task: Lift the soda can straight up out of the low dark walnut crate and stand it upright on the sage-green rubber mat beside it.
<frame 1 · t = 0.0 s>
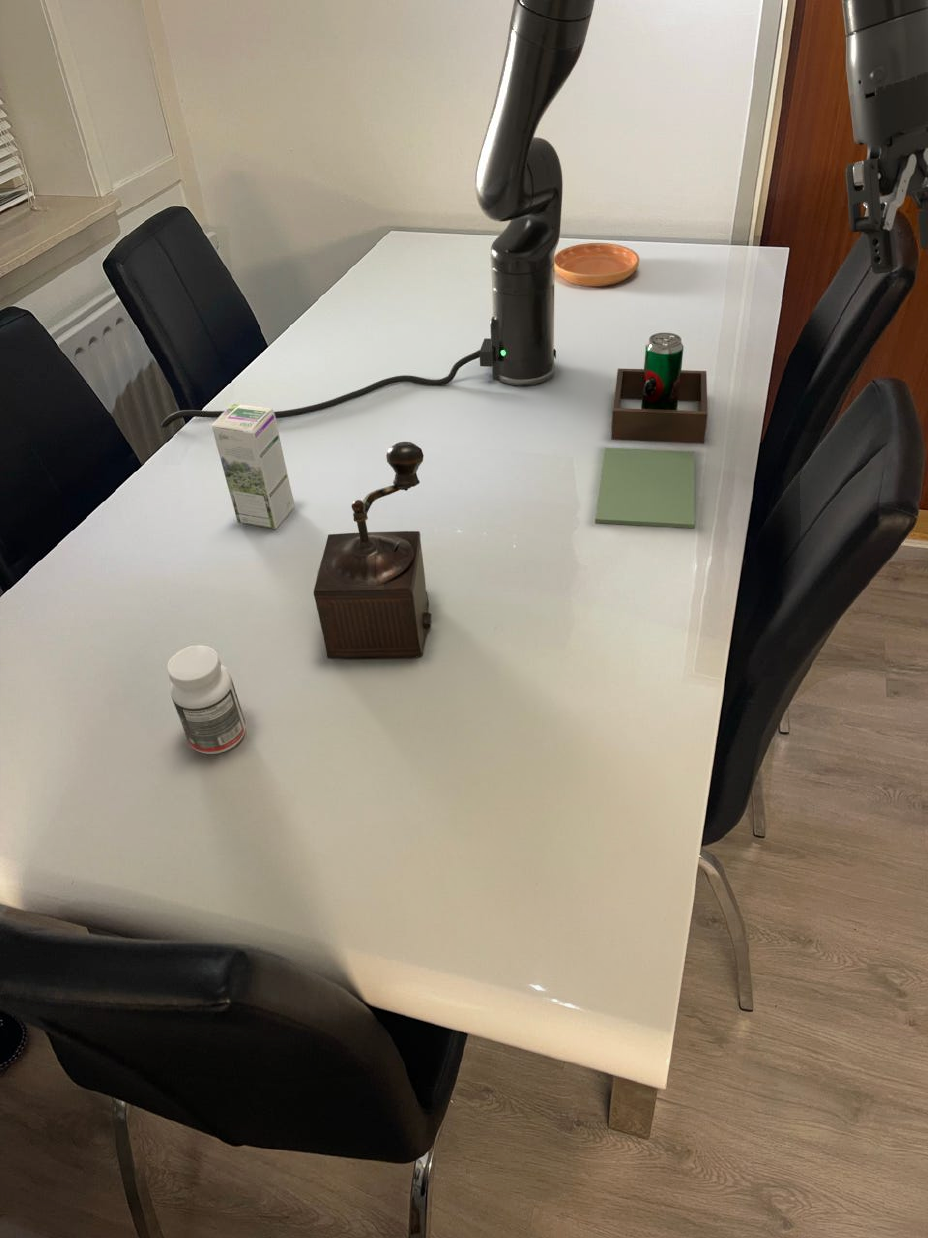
hand: (909, 259, 92), 31 cm above the table, tool tilted 20°, fingers open, 8 cm apart
manual coffee grinder: (384, 613, 105), on the table
mat: (646, 487, 121), on the table
saucer: (595, 274, 176), on the table
syrup box: (266, 516, 121), on the table
pill bottle: (218, 735, 92), on the table
crate: (658, 418, 134), on the table
soda can: (658, 419, 134), resting in crate
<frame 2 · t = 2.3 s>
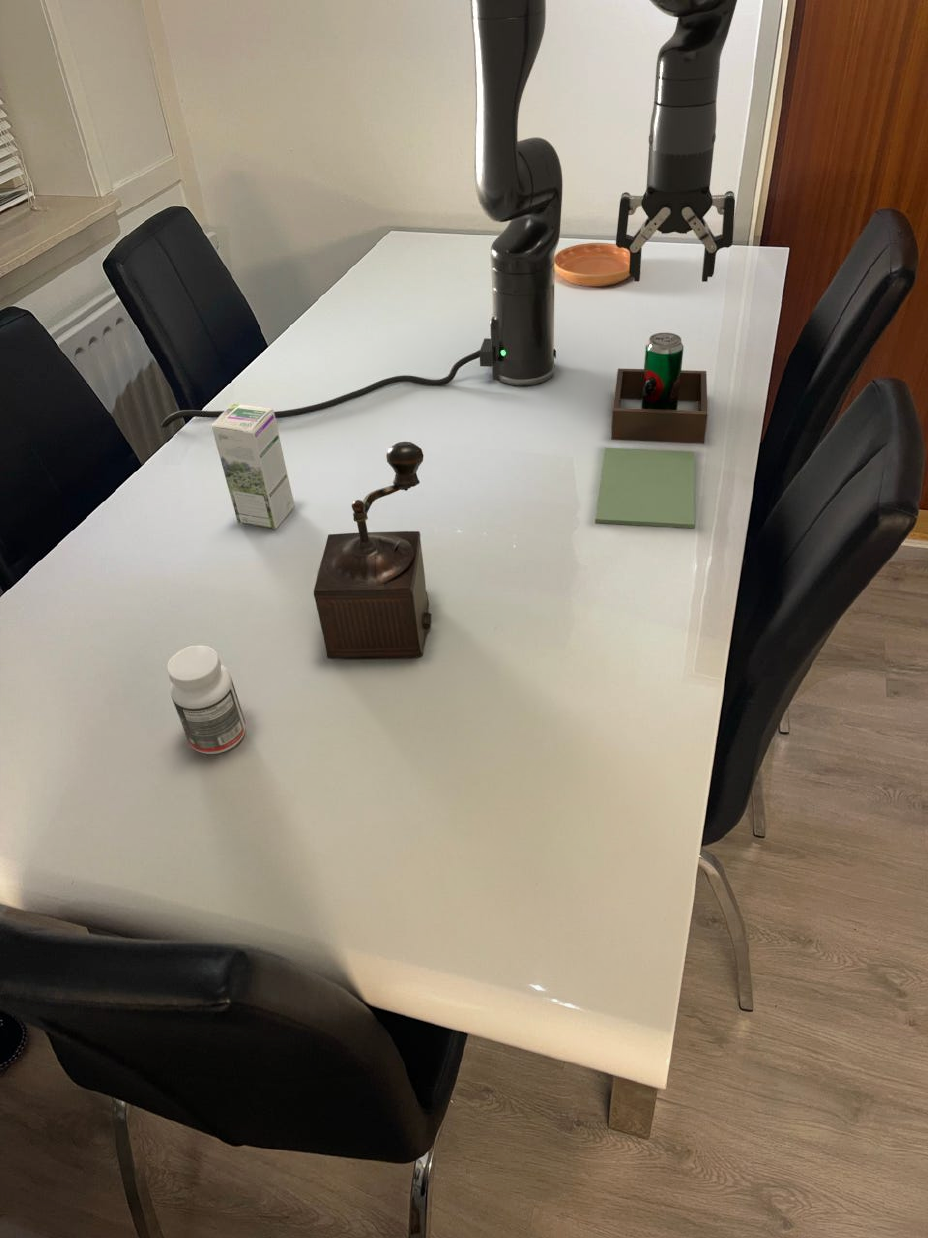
hand: (670, 279, 121), 20 cm above the table, tool pointing down, fingers open, 8 cm apart
nothing on the table moved.
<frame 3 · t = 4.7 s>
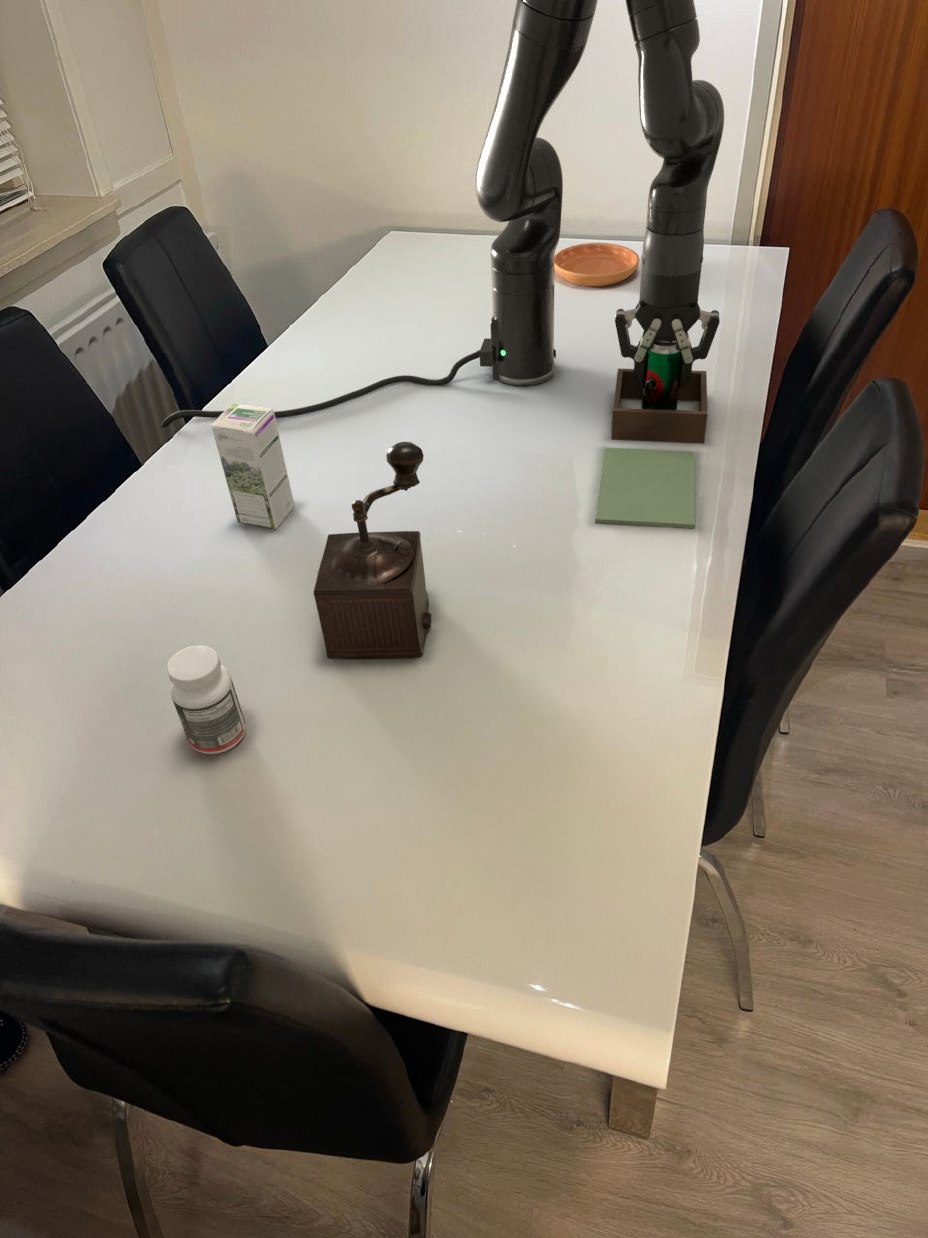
hand: (661, 383, 130), 5 cm above the table, tool pointing down, fingers closed on soda can, 5 cm apart
soda can: (658, 419, 134), resting in crate, touching gripper
everything else where it was.
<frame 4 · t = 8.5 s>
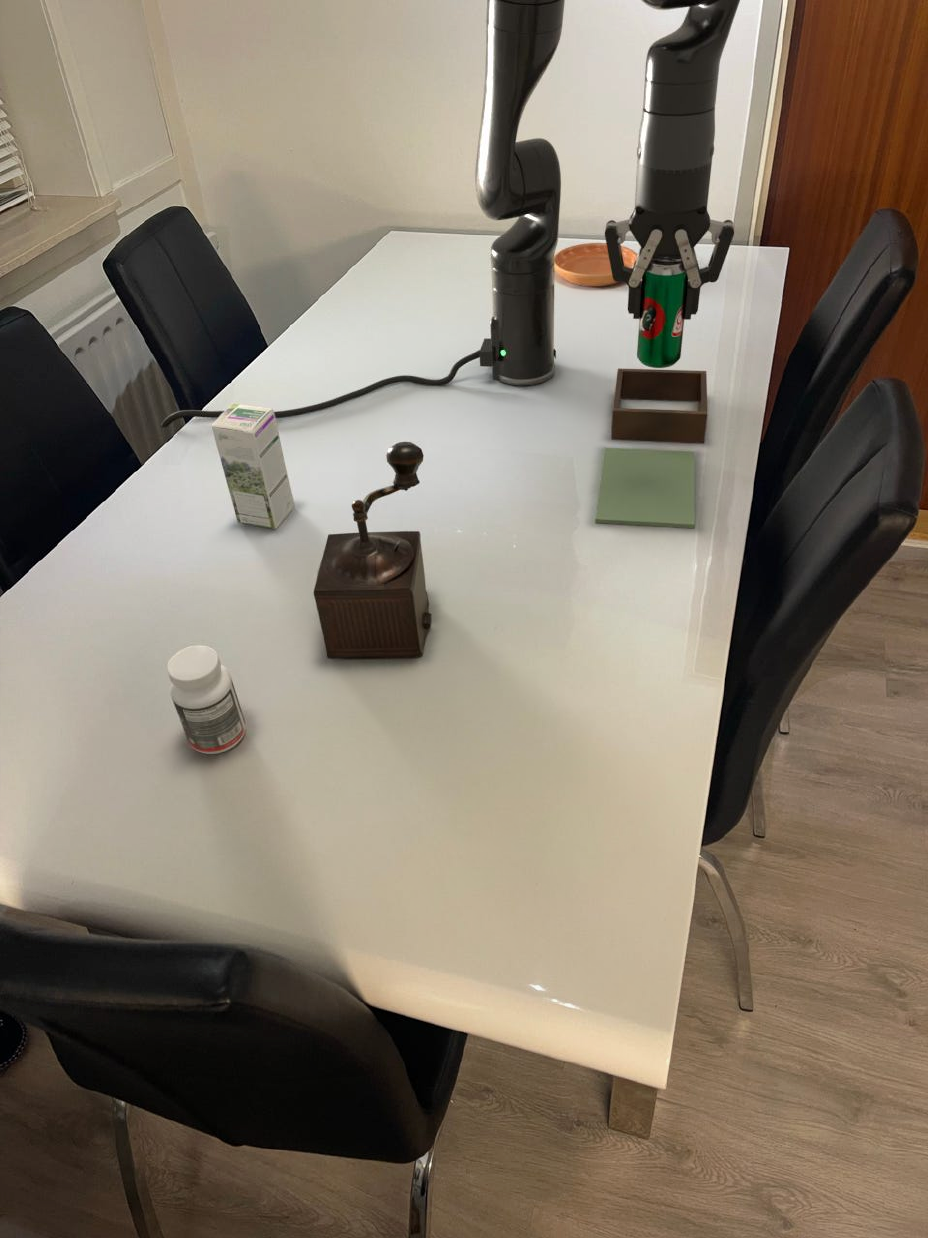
hand: (661, 315, 107), 23 cm above the table, tool pointing down, fingers closed on soda can, 5 cm apart
soda can: (658, 361, 110), point 17 cm above the table, touching gripper
everything else where it was.
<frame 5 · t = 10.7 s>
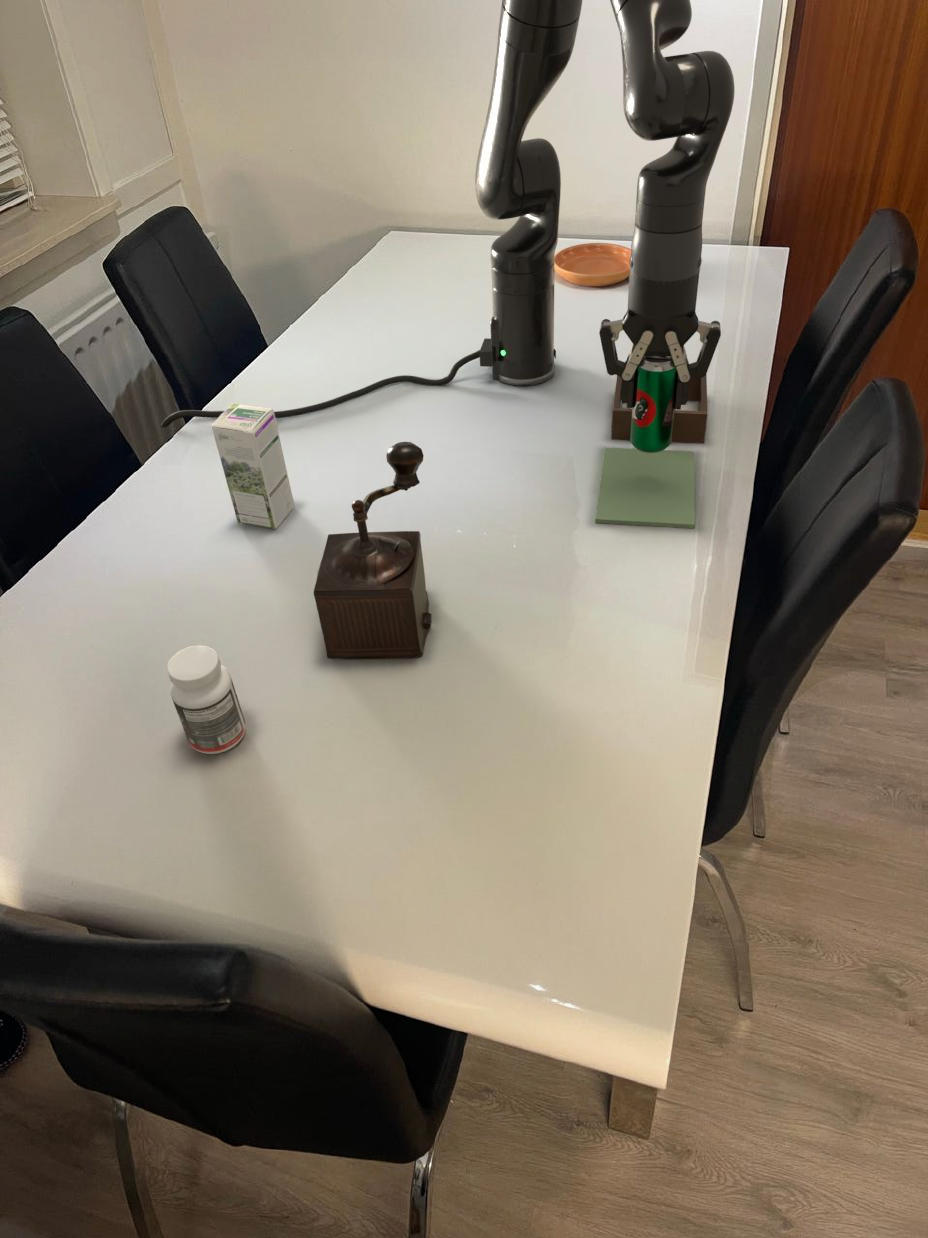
hand: (653, 405, 113), 12 cm above the table, tool pointing down, fingers closed on soda can, 5 cm apart
soda can: (650, 445, 117), point 6 cm above the table, touching gripper
everything else where it was.
when the fingers open (6 cm above the table, at t = 12.5 s): soda can stays where it is, resting on mat.
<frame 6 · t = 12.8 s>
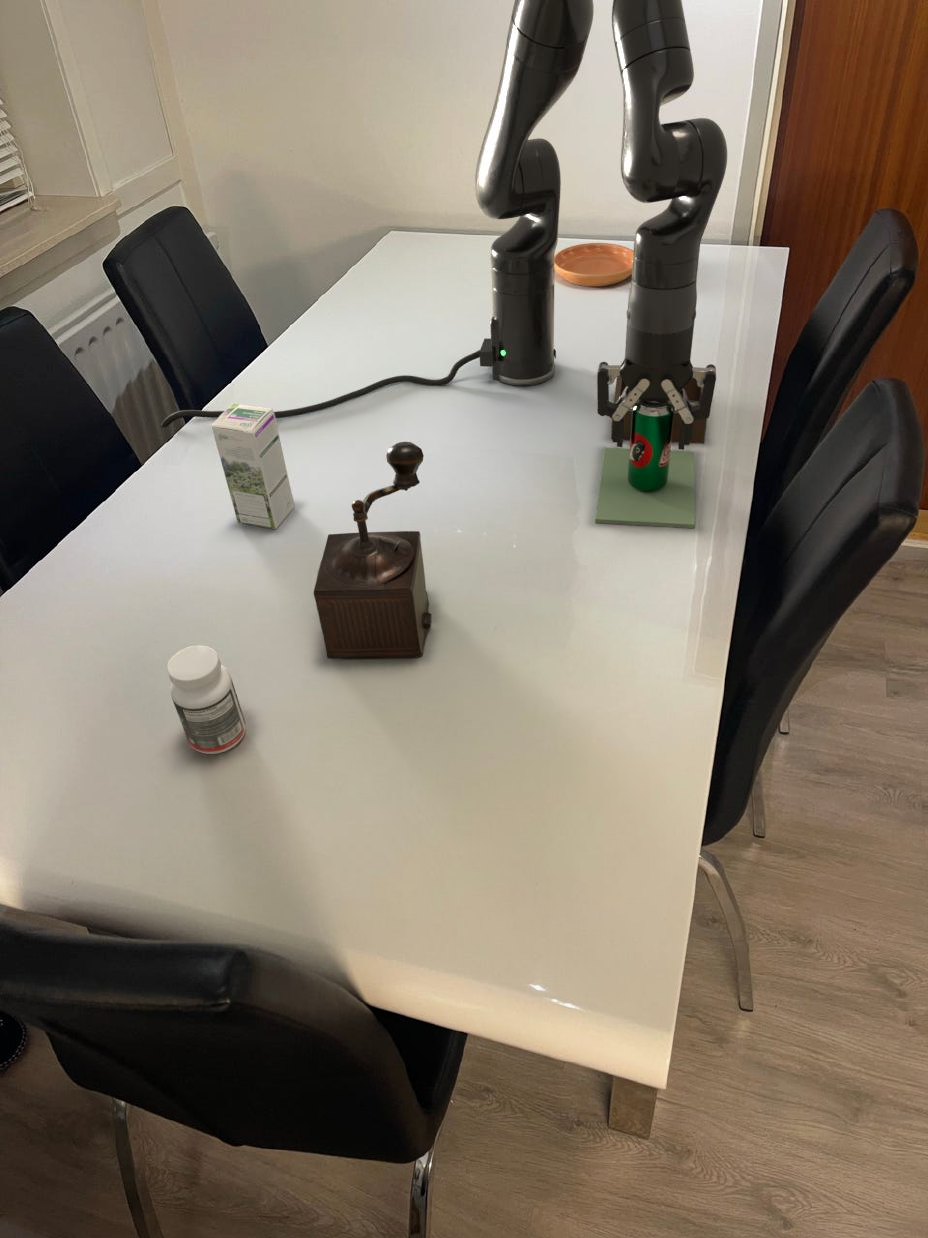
hand: (650, 444, 117), 6 cm above the table, tool pointing down, fingers open, 7 cm apart
soda can: (647, 484, 120), resting on mat
everything else where it was.
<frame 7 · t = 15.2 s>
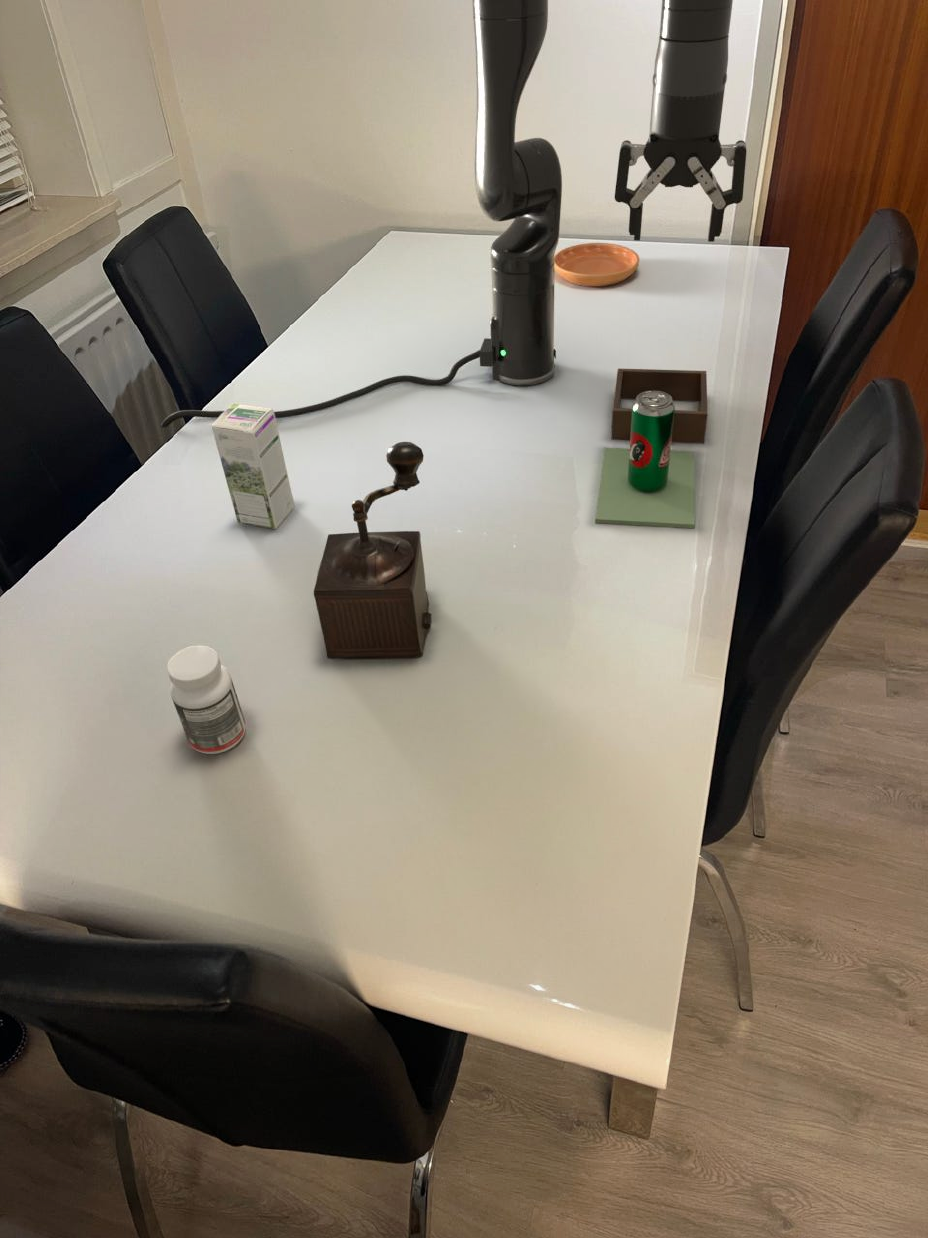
hand: (673, 238, 110), 28 cm above the table, tool pointing down, fingers open, 8 cm apart
nothing on the table moved.
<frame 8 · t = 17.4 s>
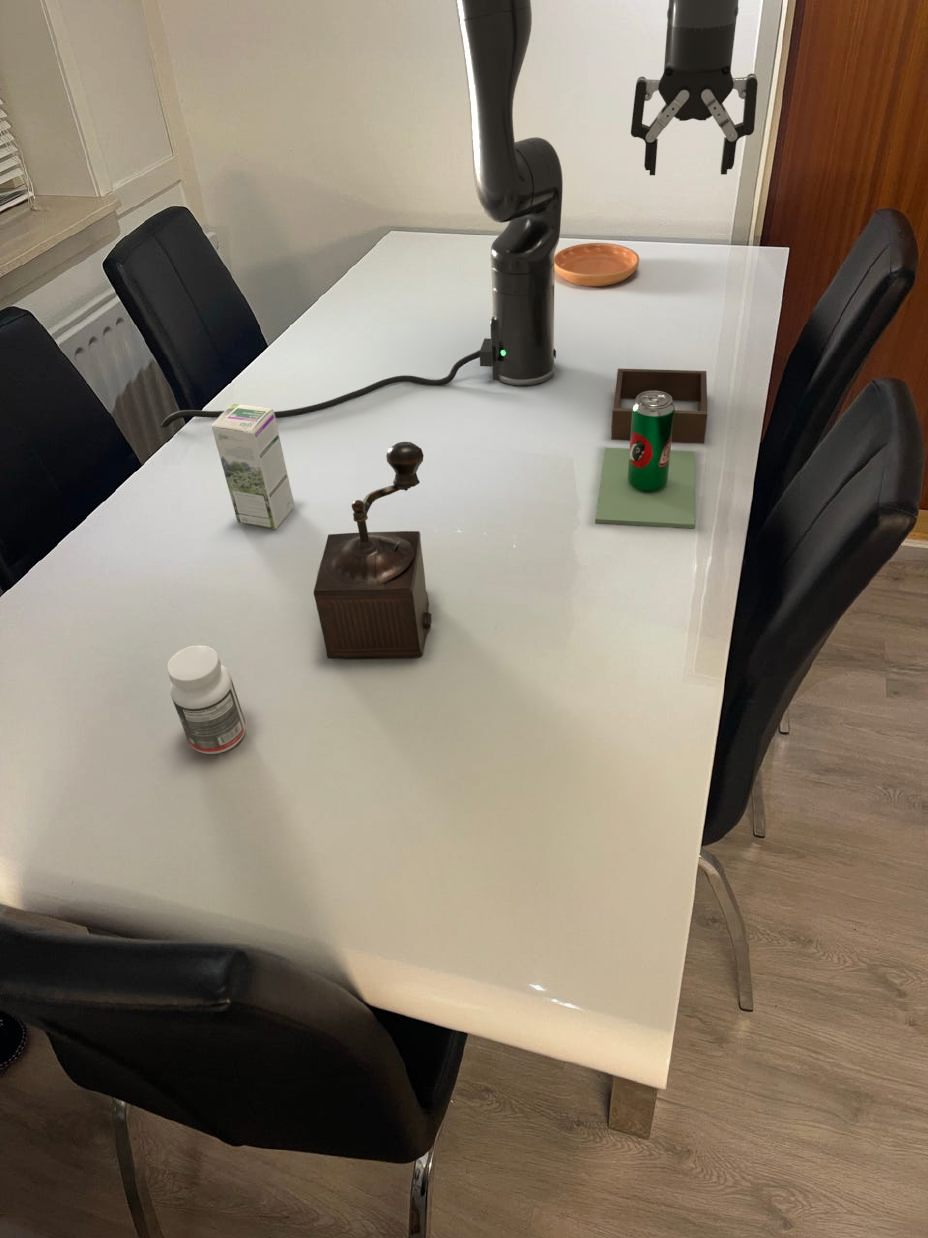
hand: (687, 173, 115), 32 cm above the table, tool pointing down, fingers open, 8 cm apart
nothing on the table moved.
at the end: soda can inside the target area on the mat (0.0 cm from its centre), point 0.4 cm above the mat's base; soda can tilted 0°; the gripper is holding nothing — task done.
